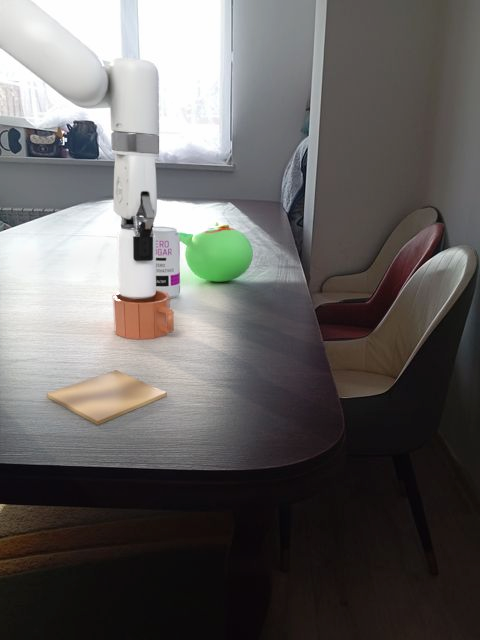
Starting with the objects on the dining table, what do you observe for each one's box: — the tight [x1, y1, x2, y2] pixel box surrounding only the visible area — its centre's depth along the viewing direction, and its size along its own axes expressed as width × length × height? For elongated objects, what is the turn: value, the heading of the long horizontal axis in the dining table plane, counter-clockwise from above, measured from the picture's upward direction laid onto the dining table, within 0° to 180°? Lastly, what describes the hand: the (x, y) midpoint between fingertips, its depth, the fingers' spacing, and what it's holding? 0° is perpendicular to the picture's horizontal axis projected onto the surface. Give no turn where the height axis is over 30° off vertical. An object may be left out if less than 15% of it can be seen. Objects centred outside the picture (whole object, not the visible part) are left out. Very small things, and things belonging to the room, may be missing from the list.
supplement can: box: [153, 226, 181, 300], centre depth 115 cm, size 8×8×15 cm
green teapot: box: [177, 221, 254, 283], centre depth 132 cm, size 18×17×15 cm
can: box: [116, 224, 156, 299], centre depth 90 cm, size 6×6×12 cm
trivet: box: [46, 369, 168, 426], centre depth 68 cm, size 11×11×1 cm
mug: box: [111, 290, 175, 340], centre depth 92 cm, size 13×10×6 cm
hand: (136, 255), depth 89 cm, fingers closed on can, 6 cm apart
